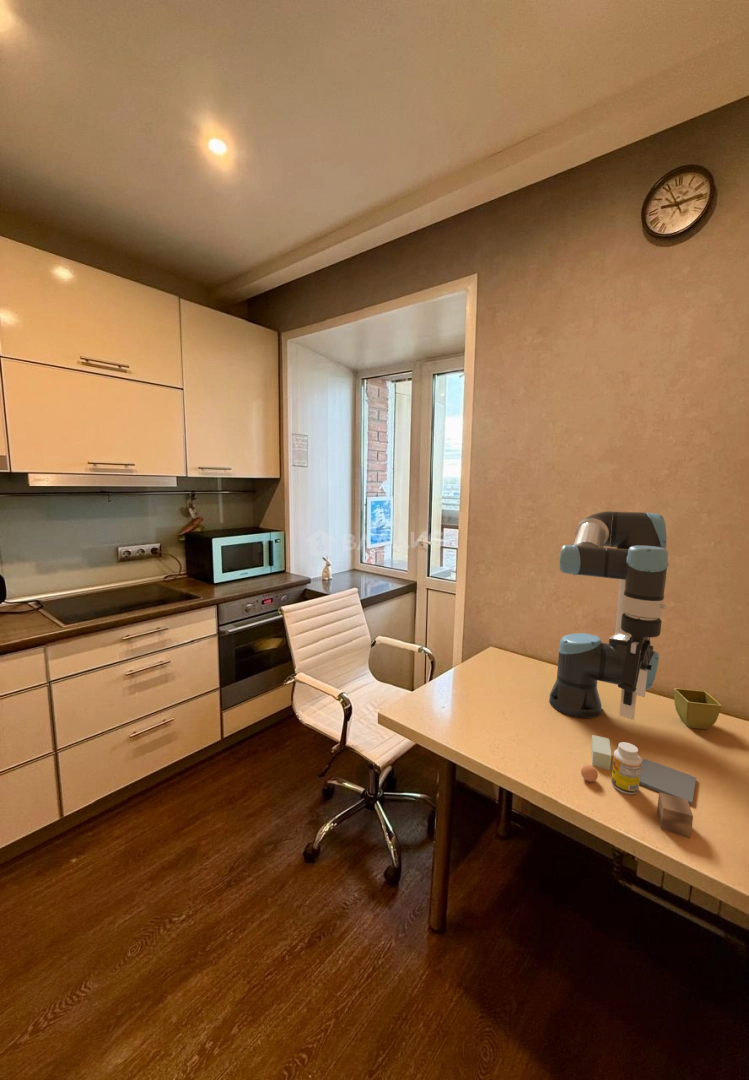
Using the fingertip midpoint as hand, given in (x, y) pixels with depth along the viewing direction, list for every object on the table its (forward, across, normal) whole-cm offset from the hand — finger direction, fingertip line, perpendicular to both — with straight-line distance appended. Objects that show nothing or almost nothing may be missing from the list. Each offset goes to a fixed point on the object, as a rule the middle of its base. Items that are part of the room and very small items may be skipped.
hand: (632, 705), depth 96 cm
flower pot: (+20, +45, -10) cm, 51 cm away
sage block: (+21, +8, +7) cm, 23 cm away
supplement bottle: (+21, 0, 0) cm, 21 cm away
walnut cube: (+21, -6, -10) cm, 24 cm away
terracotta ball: (+19, -3, +7) cm, 20 cm away
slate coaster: (+20, +9, -7) cm, 23 cm away
